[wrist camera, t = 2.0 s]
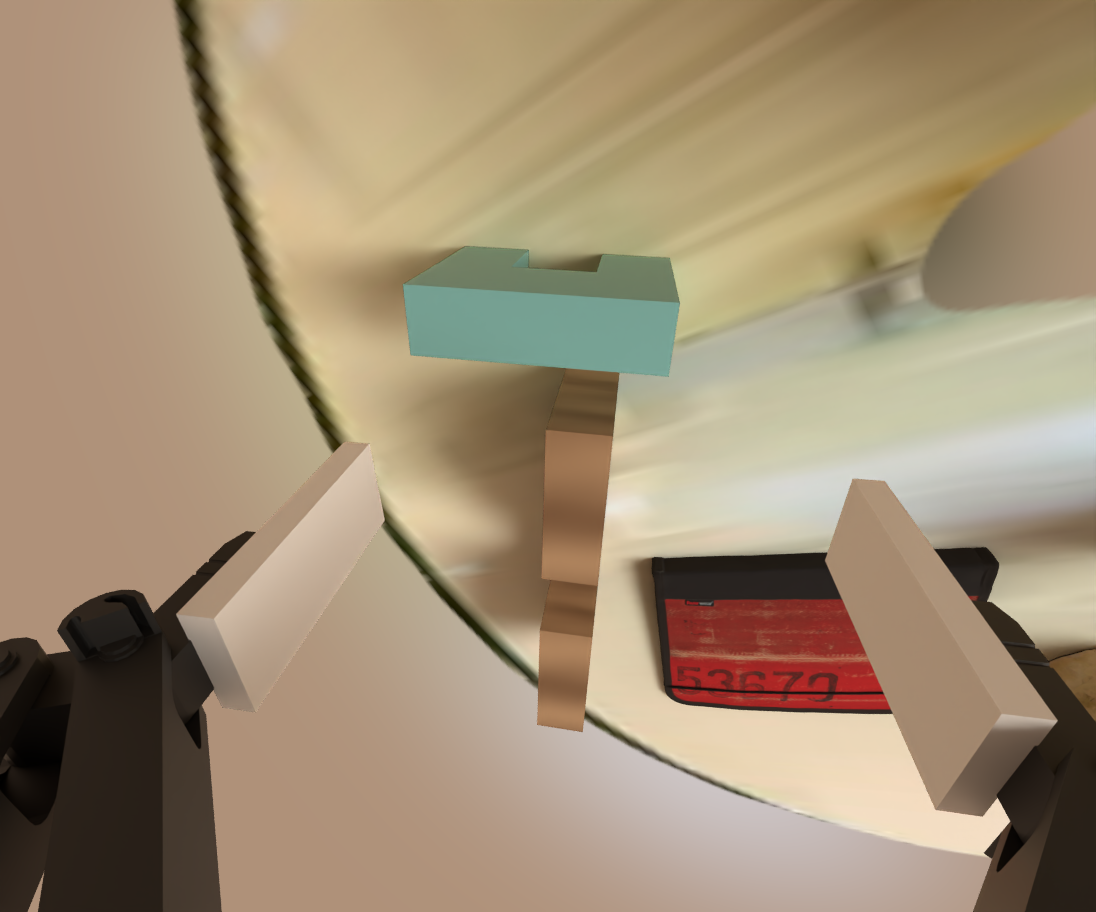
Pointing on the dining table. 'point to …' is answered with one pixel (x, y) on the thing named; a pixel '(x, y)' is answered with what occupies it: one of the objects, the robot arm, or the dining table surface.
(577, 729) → the walnut board
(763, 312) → the dining table surface
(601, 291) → the teal plate
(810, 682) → the binder
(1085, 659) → the decorative item
